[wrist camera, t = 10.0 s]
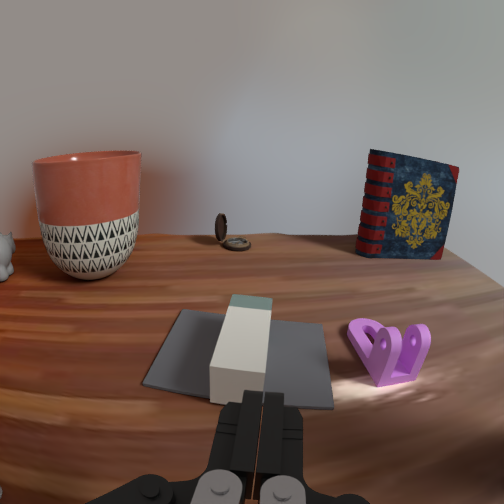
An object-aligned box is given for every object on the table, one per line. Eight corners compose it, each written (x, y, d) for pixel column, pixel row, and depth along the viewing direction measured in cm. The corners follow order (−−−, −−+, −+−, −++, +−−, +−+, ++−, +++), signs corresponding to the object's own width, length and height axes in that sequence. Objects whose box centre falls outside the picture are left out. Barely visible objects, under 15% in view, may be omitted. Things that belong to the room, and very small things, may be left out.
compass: (247, 253, 69) (249, 220, 67) (212, 248, 71) (213, 216, 68) (255, 242, 77) (258, 212, 74) (223, 237, 78) (225, 208, 75)
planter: (95, 310, 43) (81, 162, 35) (27, 280, 48) (12, 163, 41) (164, 264, 60) (163, 151, 53) (94, 247, 66) (89, 151, 58)
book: (360, 258, 71) (377, 149, 62) (350, 247, 77) (364, 147, 68) (442, 260, 74) (460, 167, 65) (428, 251, 80) (444, 163, 71)
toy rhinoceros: (29, 260, 56) (24, 222, 53) (6, 285, 45) (-3, 241, 42) (4, 260, 55) (-2, 223, 52) (-21, 284, 44) (-30, 242, 41)
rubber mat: (321, 326, 44) (322, 324, 44) (333, 409, 29) (334, 407, 29) (182, 311, 46) (182, 309, 45) (143, 385, 31) (142, 383, 30)
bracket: (414, 381, 33) (434, 335, 31) (376, 388, 32) (395, 340, 30) (374, 325, 45) (385, 283, 43) (341, 327, 44) (351, 284, 42)
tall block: (260, 408, 29) (268, 330, 42) (265, 372, 27) (272, 298, 40) (210, 402, 29) (231, 326, 42) (209, 365, 27) (232, 294, 40)
